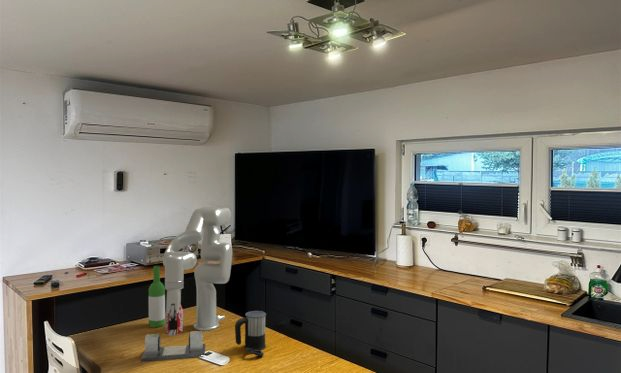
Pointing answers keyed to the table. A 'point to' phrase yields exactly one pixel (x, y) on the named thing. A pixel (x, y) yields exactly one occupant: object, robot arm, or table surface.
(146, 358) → the rail
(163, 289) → the wine bottle
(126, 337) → the table surface
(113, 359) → the table surface
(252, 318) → the milk frother
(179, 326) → the soda can
